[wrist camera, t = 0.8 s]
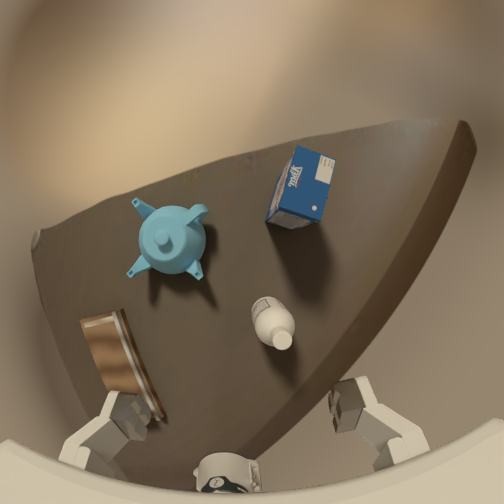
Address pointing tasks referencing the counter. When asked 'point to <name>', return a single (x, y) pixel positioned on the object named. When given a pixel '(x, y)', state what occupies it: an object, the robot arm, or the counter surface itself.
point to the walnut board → (119, 357)
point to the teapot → (170, 239)
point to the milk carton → (301, 190)
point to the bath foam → (273, 323)
